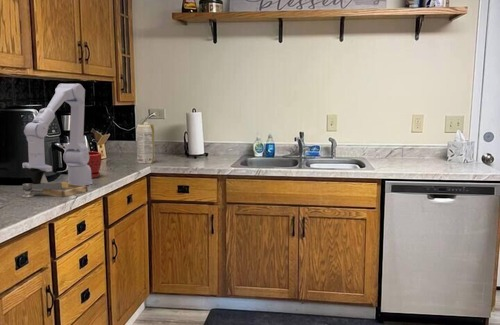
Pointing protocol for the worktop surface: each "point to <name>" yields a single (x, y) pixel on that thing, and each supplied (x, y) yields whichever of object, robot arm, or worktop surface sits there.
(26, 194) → the lever post
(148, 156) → the juice carton
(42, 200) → the worktop surface
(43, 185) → the lever
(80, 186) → the bay
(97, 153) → the plant pot
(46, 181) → the flask
